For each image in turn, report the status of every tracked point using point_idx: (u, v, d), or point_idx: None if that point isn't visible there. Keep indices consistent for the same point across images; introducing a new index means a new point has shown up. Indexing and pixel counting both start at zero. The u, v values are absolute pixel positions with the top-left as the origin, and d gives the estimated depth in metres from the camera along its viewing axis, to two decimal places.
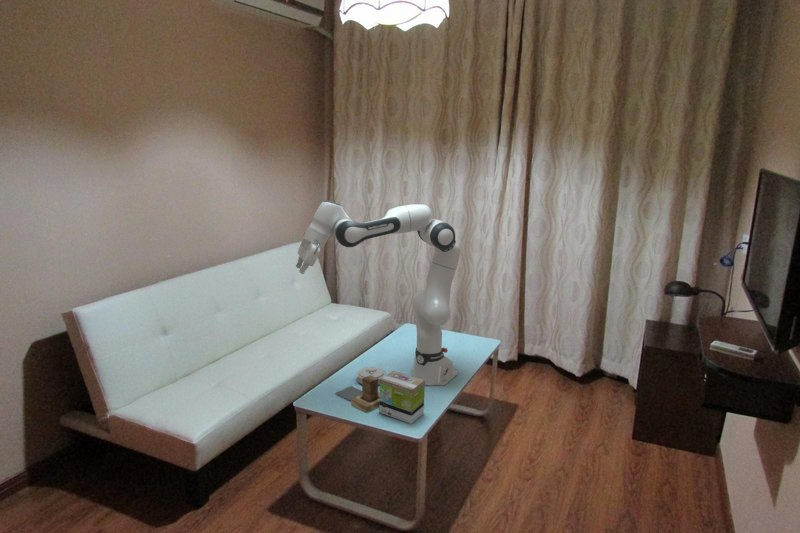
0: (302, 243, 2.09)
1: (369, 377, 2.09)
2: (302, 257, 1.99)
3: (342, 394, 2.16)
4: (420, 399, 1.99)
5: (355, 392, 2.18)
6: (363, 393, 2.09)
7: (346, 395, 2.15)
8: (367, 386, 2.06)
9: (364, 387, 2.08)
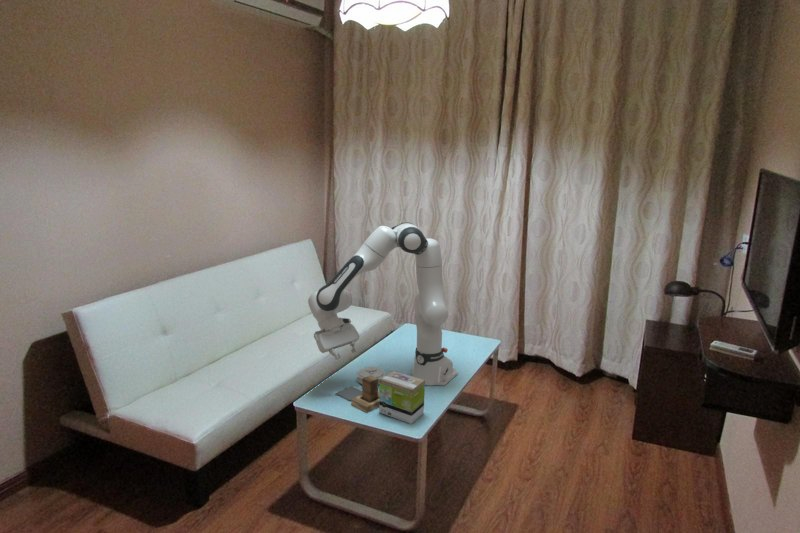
0: None
1: (369, 377, 2.09)
2: None
3: (342, 394, 2.16)
4: (420, 399, 1.99)
5: (355, 392, 2.18)
6: (363, 393, 2.09)
7: (346, 395, 2.15)
8: (367, 386, 2.06)
9: (364, 387, 2.08)
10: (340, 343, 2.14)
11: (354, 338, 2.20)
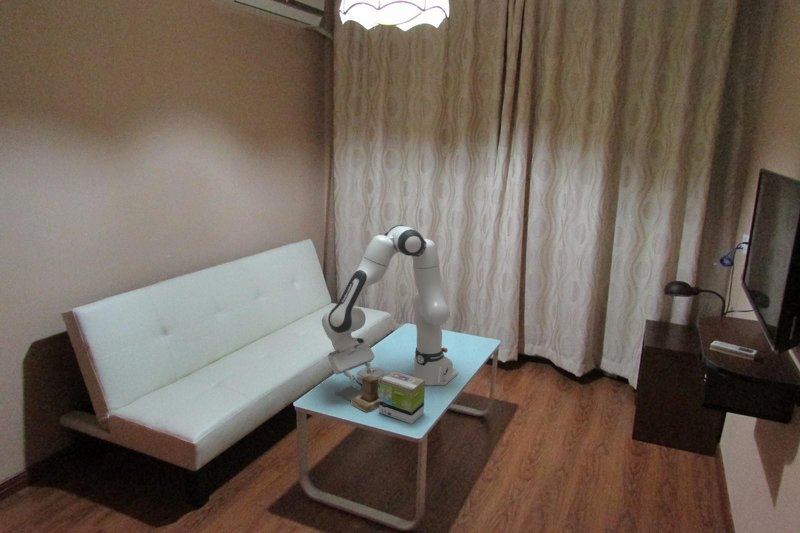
0: None
1: (369, 377, 2.09)
2: (347, 368, 2.12)
3: (342, 394, 2.16)
4: (420, 399, 1.99)
5: (355, 392, 2.18)
6: (363, 393, 2.09)
7: (346, 395, 2.15)
8: (367, 386, 2.06)
9: (364, 387, 2.08)
10: (355, 364, 2.10)
11: (369, 358, 2.16)
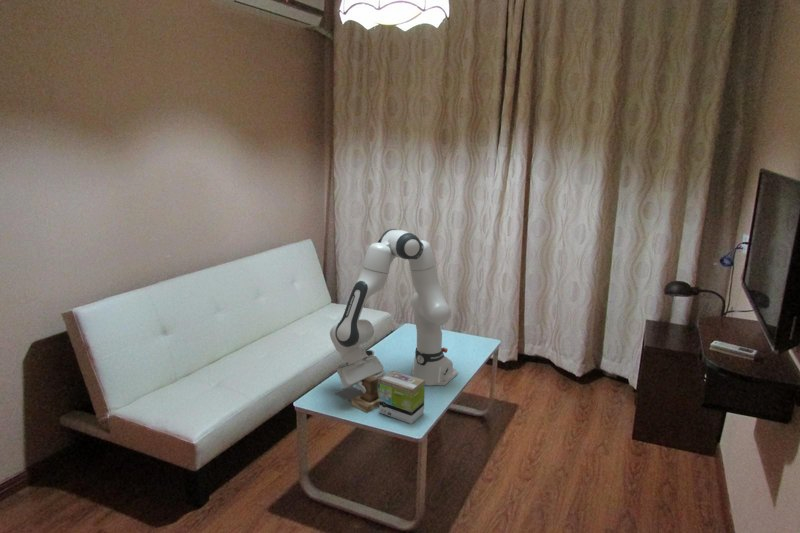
0: None
1: (369, 377, 2.09)
2: None
3: (342, 394, 2.16)
4: (420, 399, 1.99)
5: (355, 392, 2.18)
6: (363, 393, 2.09)
7: (346, 395, 2.15)
8: (367, 386, 2.06)
9: None
10: (364, 377, 2.08)
11: (378, 371, 2.14)
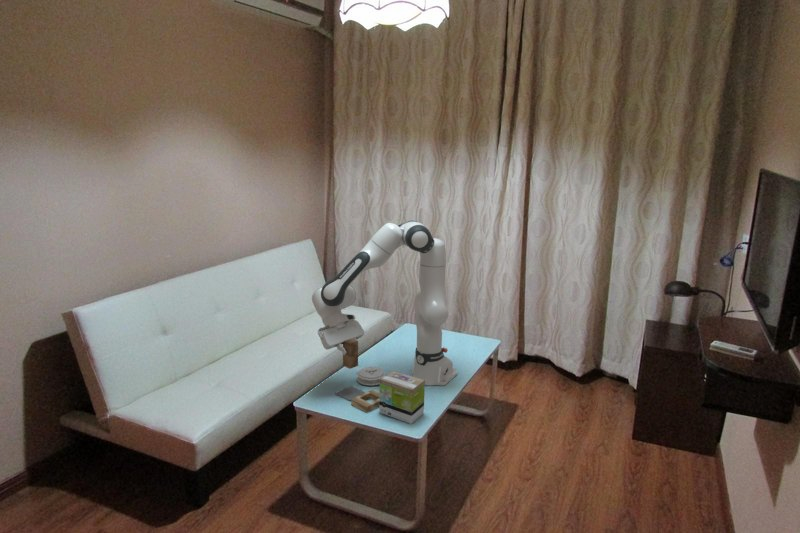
0: None
1: (349, 339, 2.13)
2: None
3: (342, 394, 2.16)
4: (420, 399, 1.99)
5: (355, 392, 2.18)
6: (344, 355, 2.13)
7: (346, 395, 2.15)
8: (347, 348, 2.11)
9: None
10: (344, 339, 2.12)
11: (359, 334, 2.18)
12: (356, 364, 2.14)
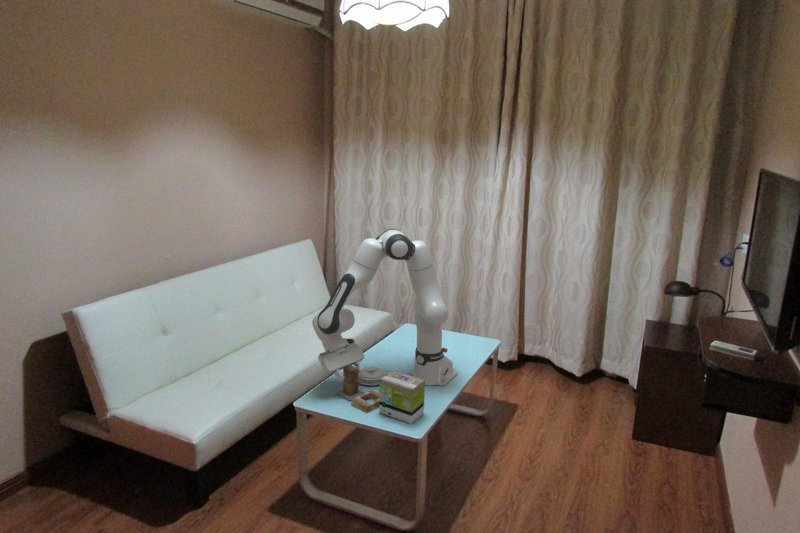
0: None
1: (350, 367, 2.16)
2: None
3: (342, 394, 2.16)
4: (420, 399, 1.99)
5: None
6: (344, 382, 2.16)
7: (346, 395, 2.15)
8: (348, 376, 2.14)
9: None
10: (345, 364, 2.15)
11: (359, 358, 2.21)
12: (356, 391, 2.17)
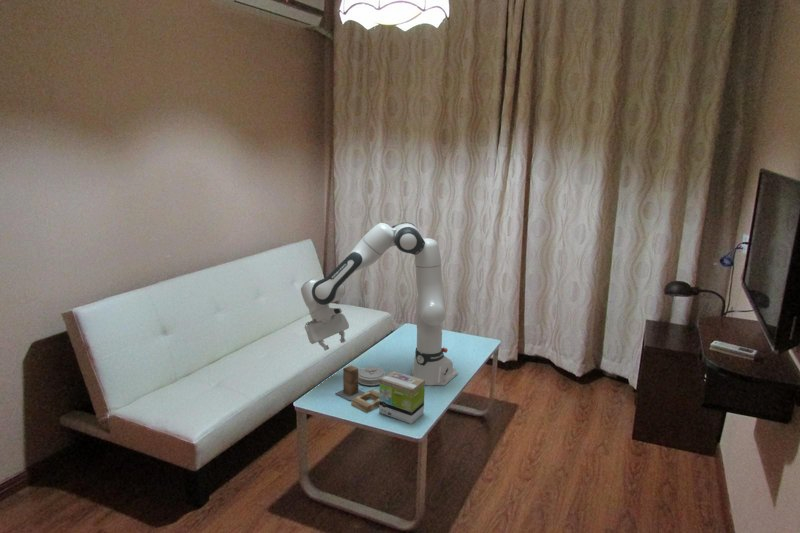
0: None
1: (350, 367, 2.16)
2: None
3: (342, 394, 2.16)
4: (420, 399, 1.99)
5: None
6: (344, 382, 2.16)
7: (346, 395, 2.15)
8: (348, 376, 2.14)
9: (345, 377, 2.15)
10: (330, 334, 2.20)
11: (344, 328, 2.26)
12: (356, 391, 2.17)
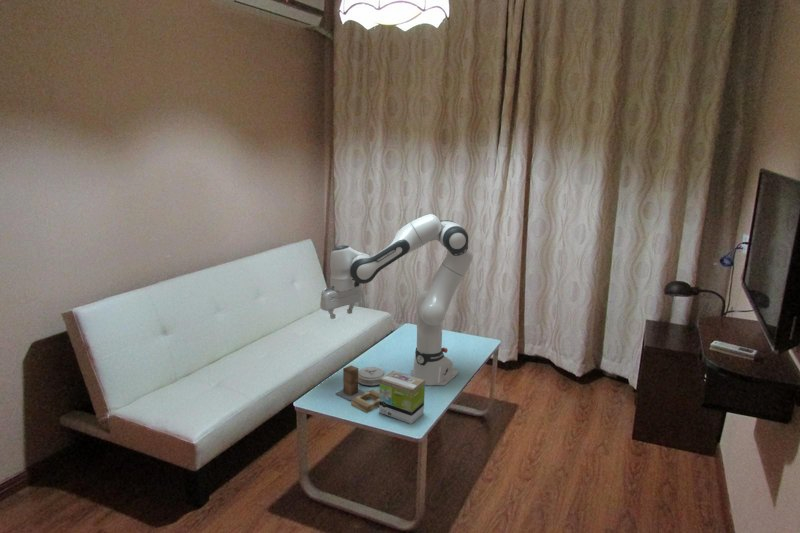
0: None
1: (350, 367, 2.16)
2: None
3: (342, 394, 2.16)
4: (420, 399, 1.99)
5: None
6: (344, 382, 2.16)
7: (346, 395, 2.15)
8: (348, 376, 2.14)
9: (345, 377, 2.15)
10: (341, 305, 2.17)
11: (355, 301, 2.22)
12: (356, 391, 2.17)
